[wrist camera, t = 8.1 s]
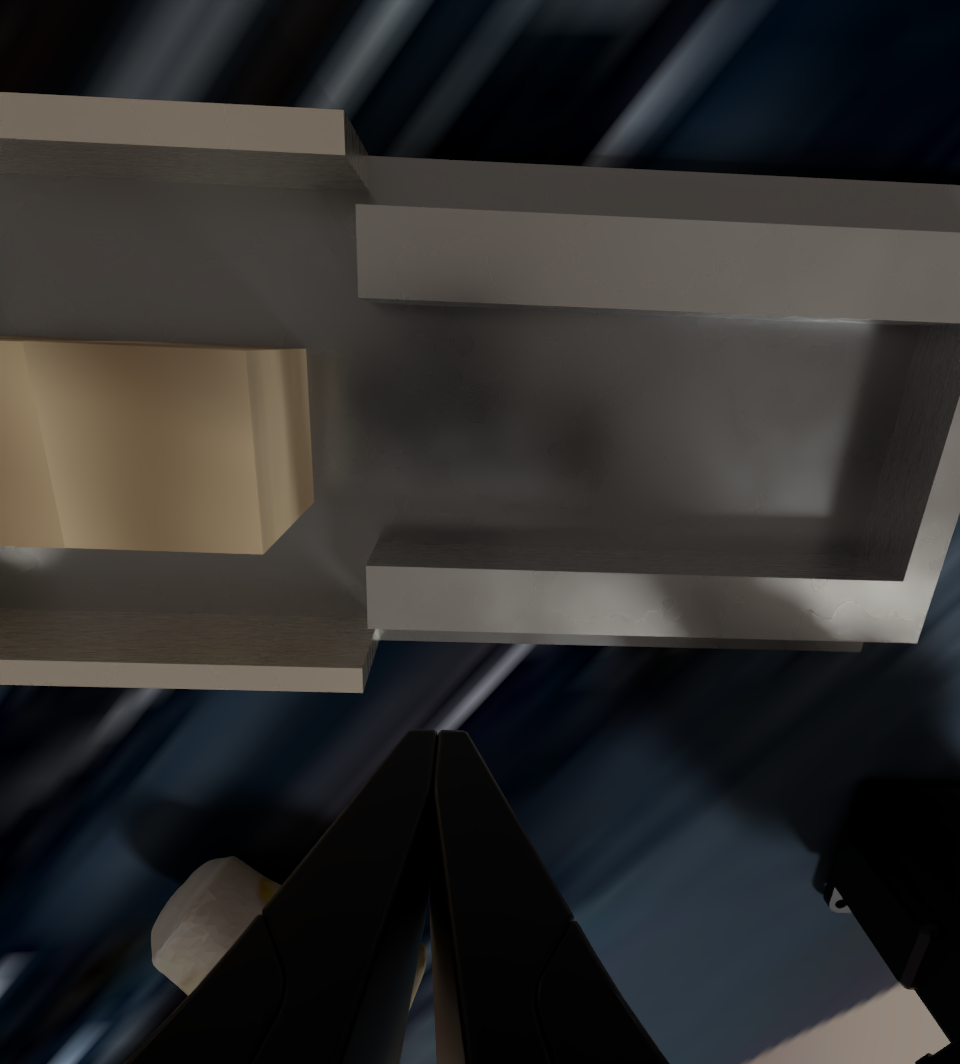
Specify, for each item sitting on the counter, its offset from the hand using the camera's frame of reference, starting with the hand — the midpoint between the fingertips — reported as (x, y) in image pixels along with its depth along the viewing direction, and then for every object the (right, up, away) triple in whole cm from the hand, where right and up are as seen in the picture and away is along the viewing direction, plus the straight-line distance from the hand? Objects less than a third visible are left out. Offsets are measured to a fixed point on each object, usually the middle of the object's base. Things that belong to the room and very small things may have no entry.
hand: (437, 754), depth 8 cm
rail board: (-1, +6, +9) cm, 11 cm away
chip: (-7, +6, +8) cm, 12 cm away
